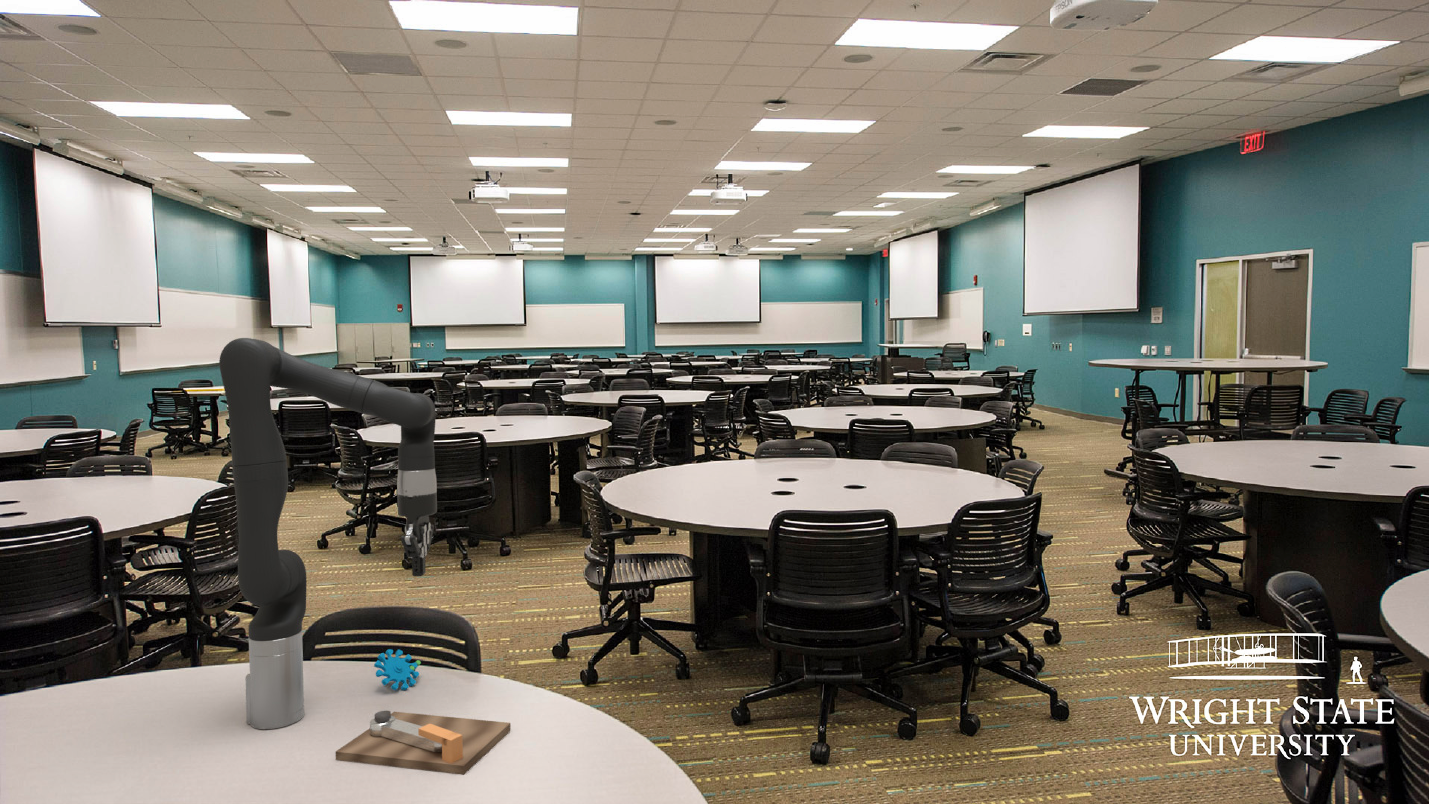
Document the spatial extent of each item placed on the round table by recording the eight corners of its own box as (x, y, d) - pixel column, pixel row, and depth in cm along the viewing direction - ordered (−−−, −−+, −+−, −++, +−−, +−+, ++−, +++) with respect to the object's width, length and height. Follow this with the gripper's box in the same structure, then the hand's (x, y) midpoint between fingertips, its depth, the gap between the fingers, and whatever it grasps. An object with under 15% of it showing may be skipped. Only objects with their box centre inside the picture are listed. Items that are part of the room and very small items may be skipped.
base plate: (335, 759, 141) (335, 732, 141) (394, 719, 157) (393, 694, 157) (463, 774, 135) (463, 745, 135) (510, 730, 152) (510, 704, 152)
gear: (387, 691, 167) (370, 650, 172) (373, 707, 169) (357, 667, 173) (431, 681, 176) (414, 643, 181) (417, 696, 178) (401, 658, 183)
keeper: (418, 750, 141) (418, 728, 141) (430, 745, 143) (429, 723, 143) (451, 763, 136) (451, 740, 136) (462, 757, 138) (462, 735, 138)
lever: (364, 733, 147) (364, 722, 147) (384, 724, 151) (384, 713, 151) (438, 755, 139) (438, 744, 138) (457, 744, 142) (457, 733, 142)
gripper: (410, 486, 169) (411, 567, 169) (386, 496, 156) (387, 584, 156) (445, 486, 169) (447, 567, 170) (424, 496, 156) (426, 583, 156)
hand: (418, 575), depth 163 cm, fingers closed
